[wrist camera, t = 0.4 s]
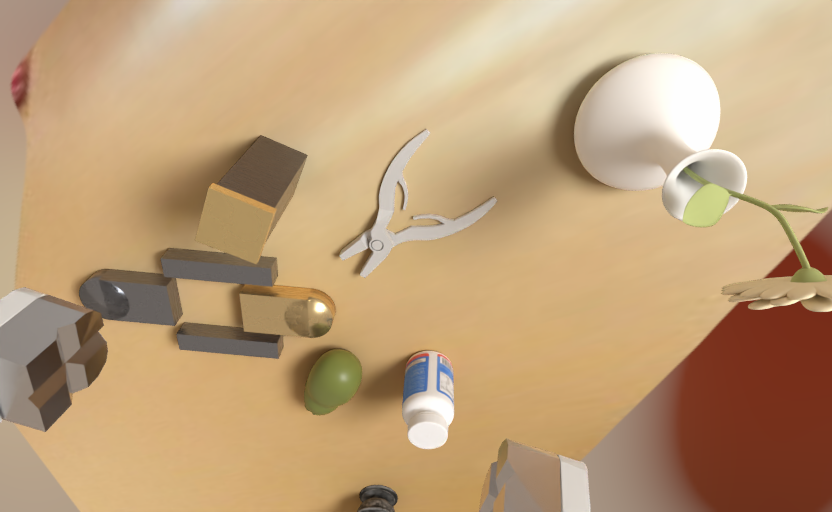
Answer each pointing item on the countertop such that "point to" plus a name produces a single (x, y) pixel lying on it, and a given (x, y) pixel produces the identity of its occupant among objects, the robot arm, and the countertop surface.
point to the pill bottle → (428, 399)
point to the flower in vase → (681, 160)
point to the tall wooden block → (250, 199)
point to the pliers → (385, 239)
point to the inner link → (286, 310)
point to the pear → (332, 381)
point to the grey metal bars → (161, 303)
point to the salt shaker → (377, 499)
